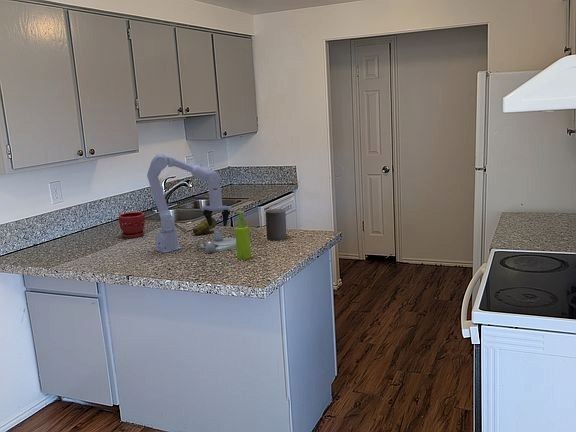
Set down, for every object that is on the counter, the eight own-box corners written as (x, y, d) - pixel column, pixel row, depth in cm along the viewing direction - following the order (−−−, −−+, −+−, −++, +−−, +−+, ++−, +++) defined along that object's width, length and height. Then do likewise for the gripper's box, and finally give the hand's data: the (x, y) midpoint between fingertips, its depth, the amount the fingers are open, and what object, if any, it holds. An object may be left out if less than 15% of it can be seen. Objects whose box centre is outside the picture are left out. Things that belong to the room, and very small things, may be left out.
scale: (219, 251, 248) (218, 246, 247) (199, 247, 259) (198, 242, 258) (247, 243, 259) (246, 239, 259) (227, 240, 270) (226, 235, 269)
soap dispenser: (242, 254, 240) (238, 209, 236) (254, 256, 236) (250, 210, 232) (232, 258, 236) (228, 211, 232) (244, 260, 231) (240, 213, 228)
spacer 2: (220, 241, 260) (219, 231, 259) (213, 241, 261) (212, 230, 260) (224, 239, 263) (223, 229, 262) (217, 239, 265) (216, 229, 264)
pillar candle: (264, 240, 264) (262, 209, 261) (270, 235, 273) (268, 205, 270) (283, 241, 261) (281, 209, 258) (289, 236, 270) (288, 205, 267)
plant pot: (116, 239, 287) (113, 216, 285) (129, 233, 300) (126, 211, 298) (139, 239, 284) (136, 216, 282) (151, 233, 297) (148, 211, 295)
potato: (191, 233, 290) (189, 218, 289) (215, 230, 294) (214, 215, 293) (194, 236, 282) (192, 221, 281) (218, 233, 287) (217, 218, 285)
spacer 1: (209, 254, 245) (208, 243, 244) (203, 252, 248) (202, 242, 247) (216, 252, 248) (215, 241, 247) (211, 251, 250) (210, 240, 250)
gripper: (197, 198, 257) (200, 227, 260) (226, 198, 253) (228, 227, 255) (204, 196, 264) (206, 224, 266) (232, 196, 259) (234, 224, 262)
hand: (217, 225), depth 261 cm, fingers open, 7 cm apart
